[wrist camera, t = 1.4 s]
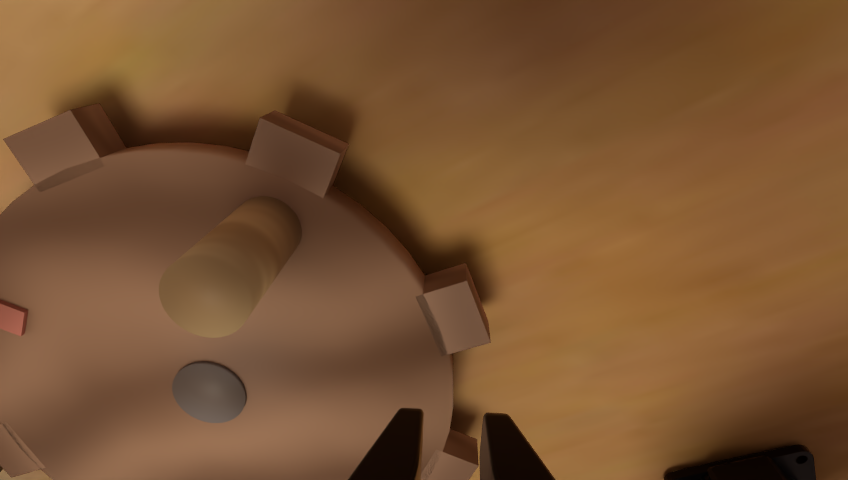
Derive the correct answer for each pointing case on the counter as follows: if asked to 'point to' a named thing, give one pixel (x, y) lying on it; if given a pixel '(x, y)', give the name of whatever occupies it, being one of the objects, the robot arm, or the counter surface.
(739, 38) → the counter surface
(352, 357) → the flat round disc
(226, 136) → the counter surface
